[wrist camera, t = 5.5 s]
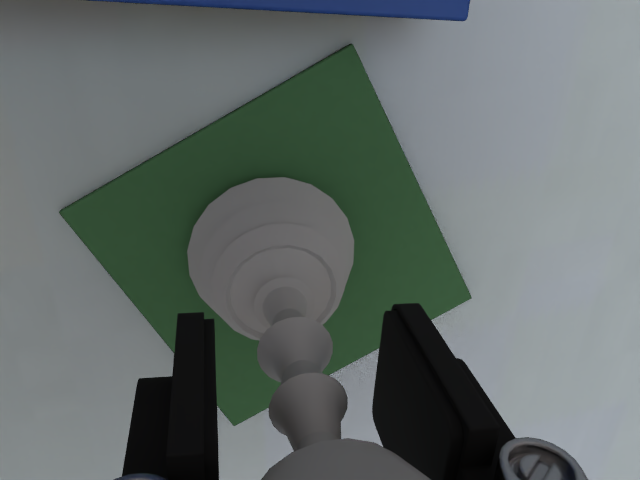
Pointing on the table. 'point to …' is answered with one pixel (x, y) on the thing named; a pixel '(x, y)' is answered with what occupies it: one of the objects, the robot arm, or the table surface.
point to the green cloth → (271, 162)
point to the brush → (338, 7)
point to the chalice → (289, 316)
